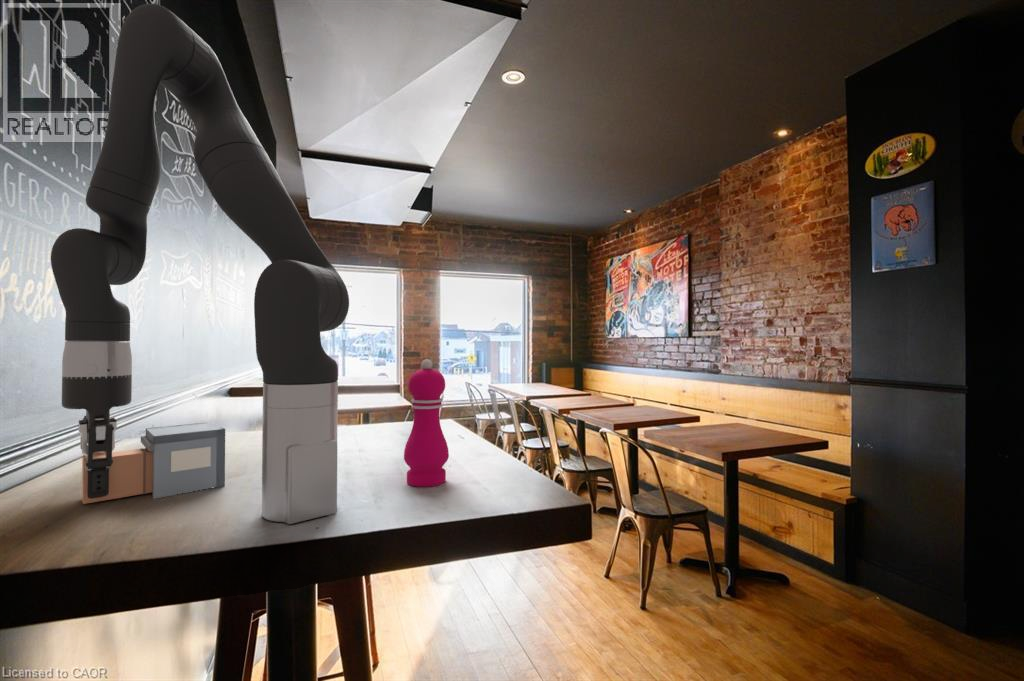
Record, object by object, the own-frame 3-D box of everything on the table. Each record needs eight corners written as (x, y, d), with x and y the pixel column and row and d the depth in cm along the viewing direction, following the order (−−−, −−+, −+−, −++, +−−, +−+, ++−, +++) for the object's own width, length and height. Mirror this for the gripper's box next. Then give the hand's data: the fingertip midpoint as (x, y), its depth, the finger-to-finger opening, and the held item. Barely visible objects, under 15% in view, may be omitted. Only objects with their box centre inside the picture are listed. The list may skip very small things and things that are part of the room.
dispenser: (225, 486, 75) (225, 429, 75) (148, 500, 68) (149, 436, 68) (210, 474, 82) (211, 421, 82) (140, 485, 75) (140, 428, 75)
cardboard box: (209, 482, 76) (210, 444, 76) (83, 504, 65) (83, 459, 66) (204, 478, 79) (204, 441, 79) (81, 498, 68) (82, 455, 68)
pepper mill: (424, 491, 73) (425, 360, 73) (394, 482, 77) (395, 359, 77) (457, 480, 79) (458, 359, 79) (427, 473, 83) (428, 358, 83)
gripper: (137, 374, 65) (136, 498, 65) (126, 370, 76) (125, 477, 76) (62, 376, 60) (60, 511, 60) (61, 371, 71) (59, 486, 70)
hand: (96, 491), depth 68 cm, fingers open, 5 cm apart
